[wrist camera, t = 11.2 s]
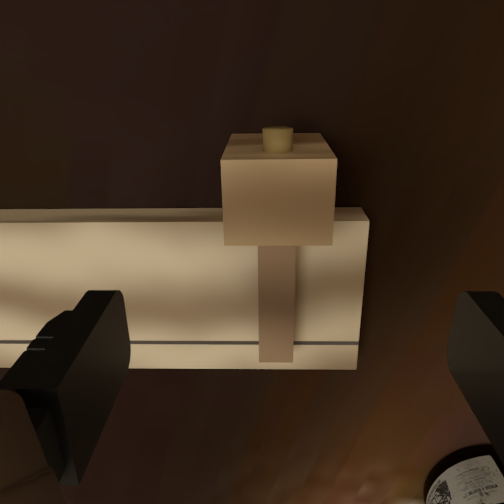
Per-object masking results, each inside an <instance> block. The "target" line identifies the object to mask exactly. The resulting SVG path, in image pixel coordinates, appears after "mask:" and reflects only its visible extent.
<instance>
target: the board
mask: <svg viewBox="0 0 504 504" xmlns="http://www.w3.org/2000/svg"><path fill="white" fill-rule="evenodd" d="M369 222H370V221H369V219H368V218H367V216H366V214H365V213H364V211H363V210H362V208H361V207H335V209H334V226H333V243H332V246H296V264H295V305H294V346H293V363H280V362H259V317H258V246H224V230H223V208H142V209H0V367H9V368H11V367H12V366H13V364H14V363H15V362H16V361H17V359H18V358H19V357H20V356H21V354H22V353H23V352H24V351H26V350H27V347H28V345H29V344H30V343H31V342H32V340H33V339H36V335H37V334H38V333H39V332H40V330H41V329H42V328H43V327H44V325H45V324H46V323H47V322H48V321H50V320H51V319H53V318H54V317H56V316H57V315H59V314H60V313H62V312H63V311H65V310H73V309H74V308H75V307H76V305H77V304H78V302H79V301H80V300H81V298H82V297H83V296H84V294H85V293H86V292H87V291H88V290H120V291H121V292H122V294H123V297H124V303H125V310H126V317H127V324H128V331H129V338H130V345H131V356H130V364H129V368H183V369H356V366H357V355H358V345H359V333H360V322H361V311H362V299H363V288H364V277H365V266H366V255H367V244H368V233H369Z"/></svg>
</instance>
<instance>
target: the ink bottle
mask: <svg viewBox="0 0 504 504" xmlns="http://www.w3.org/2000/svg"><path fill="white" fill-rule="evenodd" d="M424 502H425V504H504V465H503V463H502V461H501V460H500V458H499V456H498V454H497V453H496V451H495V449H494V447H475V448H470V449H465V450H462V451H459V452H457V453H455V454H453V455H451V456H449V457H448V458H446V459H445V460H444V461H442V462H441V463H440V464H439V465H438V466H437V467H436V468H435V469H434V470H433V472H432V473H431V474H430V476H429V478H428V479H427V482H426V484H425V488H424Z"/></svg>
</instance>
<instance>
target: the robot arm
mask: <svg viewBox="0 0 504 504" xmlns="http://www.w3.org/2000/svg"><path fill="white" fill-rule="evenodd" d="M130 356H131V345H130V338H129V331H128V324H127V317H126V310H125V303H124V297H123V294H122V292H121V291H120V290H88V291H87V292H86V293H85V294H84V296H83V297H82V298H81V300H80V301H79V302H78V304H77V305H76V307H75V308H74V309H73V310H65V311H63V312H62V313H60V314H59V315H57V316H56V317H54V318H53V319H51V320H50V321H48V322H47V323H46V324H45V325H44V327H43V328H42V329H41V330H40V332H39V333H38V334H37V335H36V339H33V340H32V342H31V343H30V344H29V345H28V347H27V350H26V351H24V352H23V353H22V354H21V356H20V357H19V358H18V359H17V361H16V362H15V363H14V364H13V366H12V367H11V368H10V369H9V371H8V372H7V373H6V374H5V376H4V377H3V378H2V380H1V381H0V504H67V503H66V500H65V498H64V495H63V493H62V490H61V487H60V485H79V484H80V482H81V480H82V477H83V475H84V473H85V470H86V468H87V466H88V463H89V461H90V458H91V456H92V454H93V451H94V449H95V447H96V444H97V442H98V440H99V437H100V435H101V432H102V430H103V428H104V425H105V423H106V421H107V418H108V416H109V414H110V411H111V409H112V407H113V404H114V402H115V399H116V397H117V395H118V392H119V390H120V388H121V385H122V383H123V381H124V378H125V376H126V373H127V371H128V368H129V364H130ZM447 359H448V365H449V369H450V372H451V374H452V376H453V377H454V379H455V381H456V383H457V384H458V386H459V388H460V390H461V391H462V393H463V395H464V397H465V398H466V400H467V402H468V404H469V405H470V407H471V409H472V411H473V412H474V414H475V416H476V418H477V419H478V421H479V423H480V425H481V426H482V428H483V430H484V432H485V433H486V435H487V437H488V439H489V440H490V442H491V444H492V446H493V447H494V449H495V451H496V453H497V454H498V456H499V458H500V460H501V461H502V463H503V465H504V298H503V297H502V296H501V295H500V294H499V293H497V292H466V291H463V292H461V293H460V294H459V295H458V298H457V301H456V305H455V310H454V316H453V321H452V326H451V331H450V336H449V342H448V347H447Z"/></svg>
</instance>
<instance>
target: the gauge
mask: <svg viewBox="0 0 504 504" xmlns="http://www.w3.org/2000/svg"><path fill="white" fill-rule="evenodd" d="M336 175H337V157H336V156H335V155H334V153H333V152H332V150H331V149H330V147H329V146H328V144H327V143H326V141H325V140H324V138H323V137H322V135H321V134H320V133H293V128H292V127H284V126H273V127H265V128H263V134H232V135H231V137H230V139H229V142H228V144H227V146H226V149H225V151H224V153H223V155H222V158H221V182H222V206H223V230H224V246H258V317H259V362H280V363H293V346H294V305H295V264H296V246H332V243H333V226H334V209H335V192H336Z"/></svg>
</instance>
